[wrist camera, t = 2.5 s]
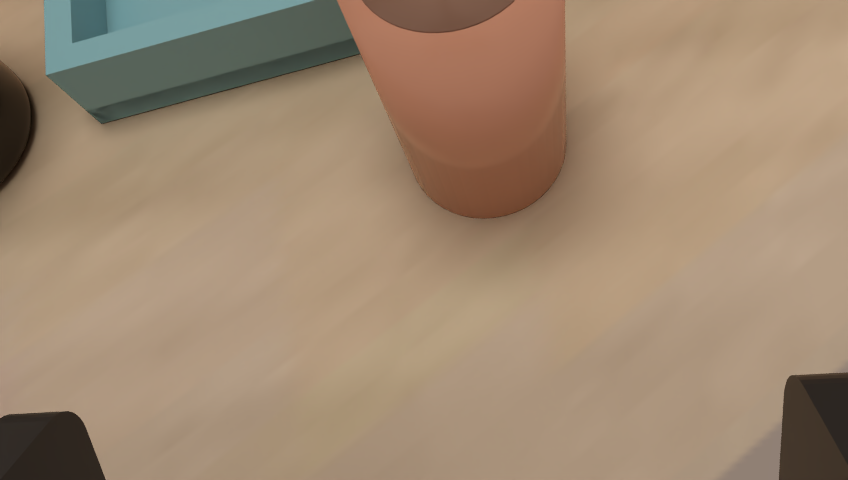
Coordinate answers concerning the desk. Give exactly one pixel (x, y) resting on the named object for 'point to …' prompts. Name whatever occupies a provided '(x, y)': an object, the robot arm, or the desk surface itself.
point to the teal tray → (182, 48)
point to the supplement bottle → (12, 120)
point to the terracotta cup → (470, 94)
